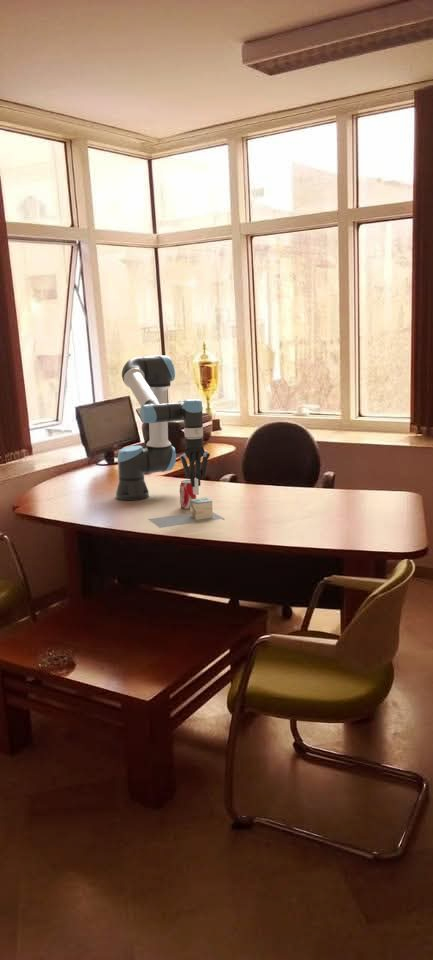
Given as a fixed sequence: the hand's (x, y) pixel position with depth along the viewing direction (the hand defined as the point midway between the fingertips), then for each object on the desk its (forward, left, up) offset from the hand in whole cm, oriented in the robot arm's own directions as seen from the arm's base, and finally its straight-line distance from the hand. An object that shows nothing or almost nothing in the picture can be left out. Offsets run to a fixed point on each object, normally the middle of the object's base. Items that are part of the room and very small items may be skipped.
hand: (195, 494), depth 317 cm
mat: (0, -5, -10) cm, 11 cm away
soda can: (-17, +3, -10) cm, 20 cm away
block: (0, +2, -3) cm, 4 cm away
